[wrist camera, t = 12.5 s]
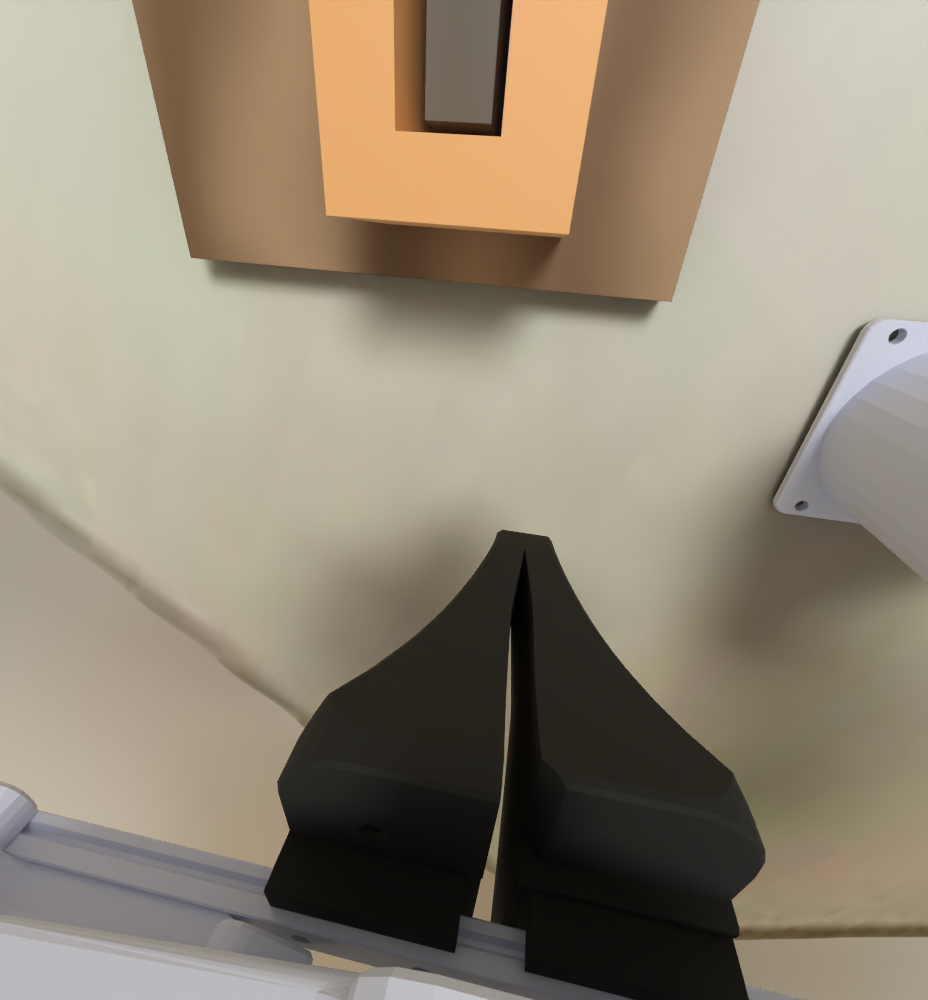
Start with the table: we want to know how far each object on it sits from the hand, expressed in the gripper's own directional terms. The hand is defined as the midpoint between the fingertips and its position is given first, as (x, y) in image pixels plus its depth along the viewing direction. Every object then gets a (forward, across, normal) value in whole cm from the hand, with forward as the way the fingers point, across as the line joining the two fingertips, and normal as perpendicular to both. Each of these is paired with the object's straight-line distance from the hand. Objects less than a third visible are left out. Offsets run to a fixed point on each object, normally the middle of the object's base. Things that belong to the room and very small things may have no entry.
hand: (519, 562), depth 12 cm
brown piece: (+9, +5, -11) cm, 15 cm away
